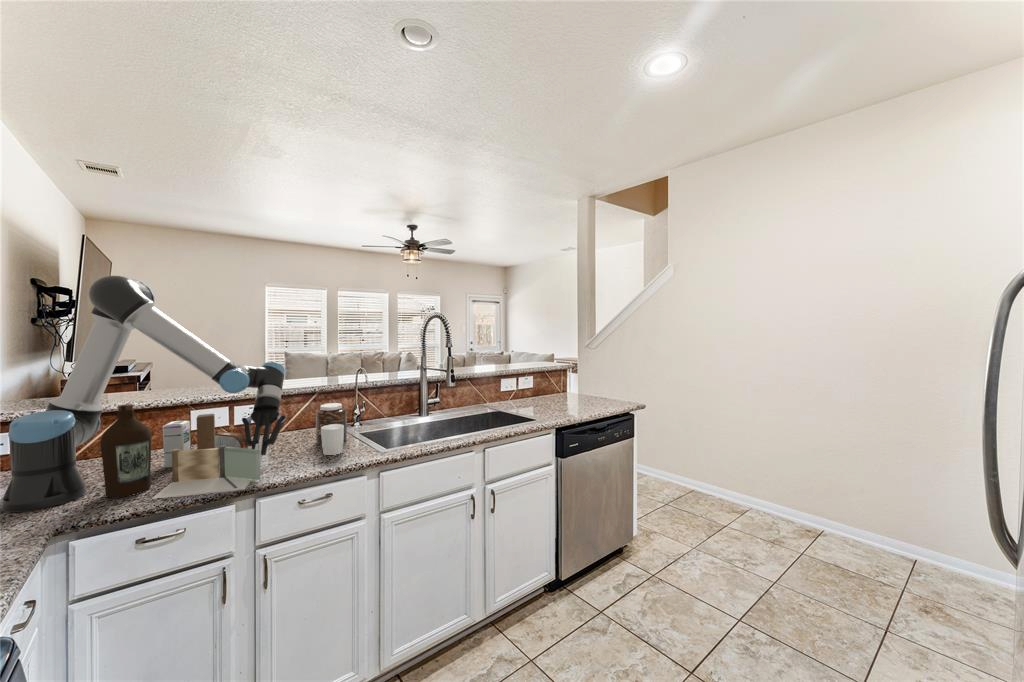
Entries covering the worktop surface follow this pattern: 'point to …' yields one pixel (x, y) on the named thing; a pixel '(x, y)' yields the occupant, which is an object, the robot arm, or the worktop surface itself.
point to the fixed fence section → (198, 464)
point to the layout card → (203, 487)
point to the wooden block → (205, 431)
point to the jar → (330, 418)
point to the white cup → (332, 439)
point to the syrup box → (175, 439)
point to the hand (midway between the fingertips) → (256, 464)
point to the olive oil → (126, 455)
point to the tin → (230, 440)
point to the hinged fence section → (242, 463)
